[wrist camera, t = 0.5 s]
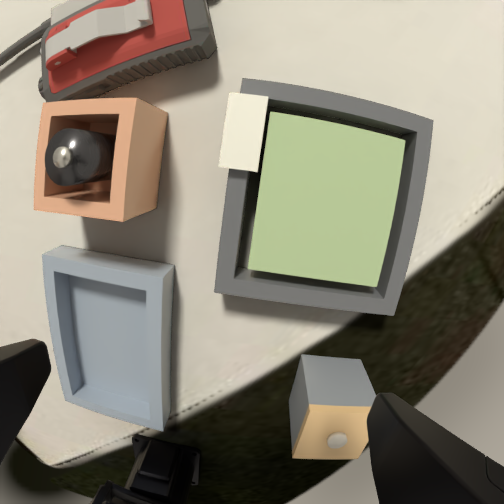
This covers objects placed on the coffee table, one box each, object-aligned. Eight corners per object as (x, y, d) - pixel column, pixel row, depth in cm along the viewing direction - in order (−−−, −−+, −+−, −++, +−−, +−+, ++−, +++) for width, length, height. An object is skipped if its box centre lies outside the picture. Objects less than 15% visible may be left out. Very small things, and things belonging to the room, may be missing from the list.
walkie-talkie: (215, -40, 15) (-1, 60, 17) (204, -74, 11) (-34, 52, 13) (238, 56, 17) (3, 149, 19) (231, 28, 13) (-34, 150, 15)
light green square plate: (372, 282, 18) (376, 287, 18) (248, 264, 18) (247, 268, 18) (400, 141, 16) (405, 140, 15) (270, 113, 16) (270, 111, 15)
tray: (170, 411, 24) (163, 431, 21) (77, 384, 24) (65, 400, 21) (174, 264, 20) (163, 277, 18) (61, 245, 20) (42, 254, 18)
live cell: (343, 404, 23) (359, 463, 17) (288, 400, 23) (292, 462, 17) (360, 359, 22) (384, 417, 15) (301, 354, 22) (310, 415, 15)
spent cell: (132, 181, 18) (81, 188, 13) (94, 177, 18) (38, 185, 13) (137, 136, 18) (87, 127, 12) (98, 135, 18) (42, 128, 12)
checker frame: (382, 301, 20) (396, 319, 18) (211, 278, 20) (203, 294, 18) (417, 124, 17) (437, 119, 14) (237, 86, 17) (232, 74, 15)
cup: (156, 208, 19) (123, 221, 14) (78, 199, 19) (33, 210, 15) (168, 113, 18) (136, 97, 13) (87, 112, 18) (43, 102, 13)
